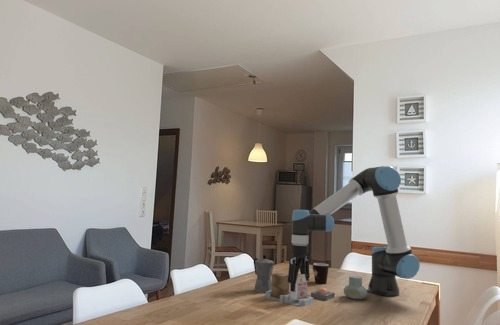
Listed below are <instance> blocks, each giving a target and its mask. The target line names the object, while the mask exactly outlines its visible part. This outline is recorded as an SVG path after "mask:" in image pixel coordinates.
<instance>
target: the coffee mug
mask: <svg viewBox="0 0 500 325" xmlns="http://www.w3.org/2000/svg"><path fill="white" fill-rule="evenodd" d="M329 267H330V265H329V264H328V263H323V262H313V264H312V271H313V274H314V283H315V284H319V285H327V281H328V275H329Z"/></svg>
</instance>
